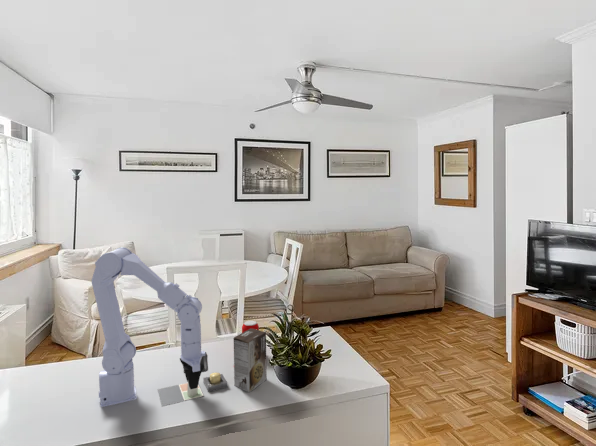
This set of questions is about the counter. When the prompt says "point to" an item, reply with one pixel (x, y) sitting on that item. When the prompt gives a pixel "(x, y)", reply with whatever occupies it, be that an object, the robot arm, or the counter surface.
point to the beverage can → (249, 325)
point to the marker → (192, 391)
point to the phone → (204, 362)
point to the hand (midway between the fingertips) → (192, 384)
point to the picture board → (177, 394)
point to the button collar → (215, 386)
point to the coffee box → (250, 359)
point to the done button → (215, 378)
